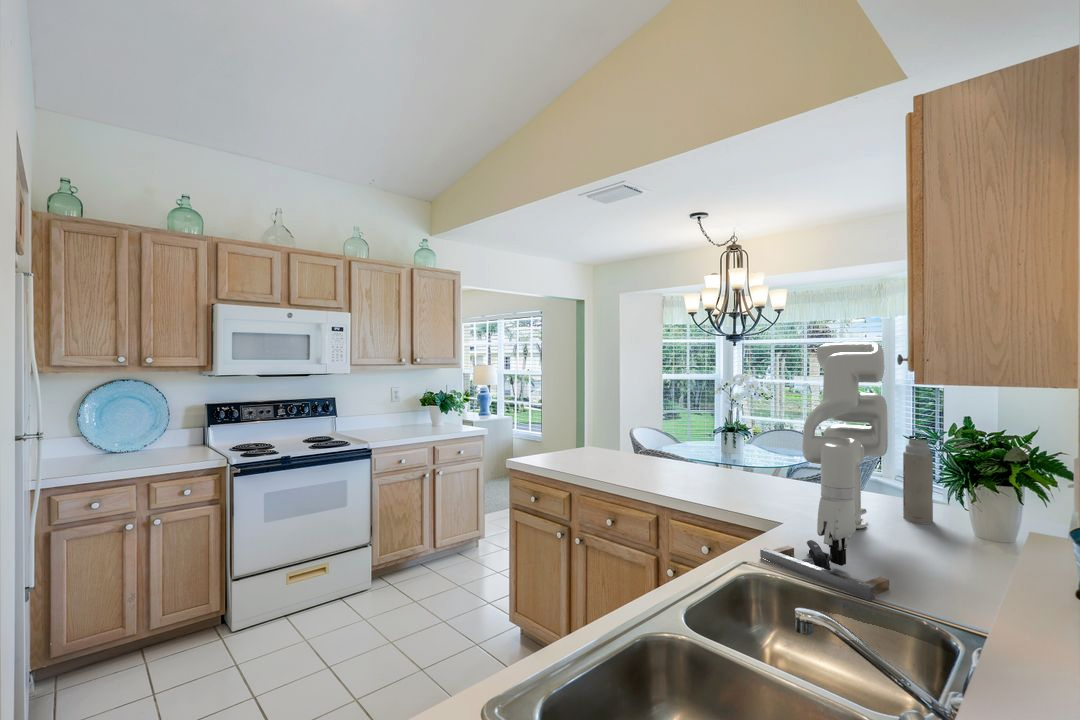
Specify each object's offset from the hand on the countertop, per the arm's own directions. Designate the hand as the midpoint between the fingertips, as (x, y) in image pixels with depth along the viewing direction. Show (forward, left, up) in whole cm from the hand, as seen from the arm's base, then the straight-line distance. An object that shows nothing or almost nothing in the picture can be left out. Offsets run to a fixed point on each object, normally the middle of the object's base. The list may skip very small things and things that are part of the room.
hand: (838, 563), depth 135 cm
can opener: (+1, -5, -2) cm, 6 cm away
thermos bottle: (-63, -10, -2) cm, 64 cm away
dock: (+6, 0, -2) cm, 6 cm away
